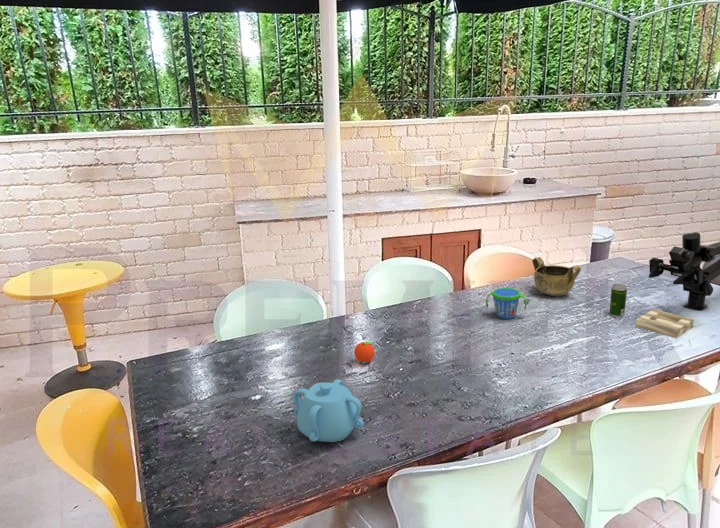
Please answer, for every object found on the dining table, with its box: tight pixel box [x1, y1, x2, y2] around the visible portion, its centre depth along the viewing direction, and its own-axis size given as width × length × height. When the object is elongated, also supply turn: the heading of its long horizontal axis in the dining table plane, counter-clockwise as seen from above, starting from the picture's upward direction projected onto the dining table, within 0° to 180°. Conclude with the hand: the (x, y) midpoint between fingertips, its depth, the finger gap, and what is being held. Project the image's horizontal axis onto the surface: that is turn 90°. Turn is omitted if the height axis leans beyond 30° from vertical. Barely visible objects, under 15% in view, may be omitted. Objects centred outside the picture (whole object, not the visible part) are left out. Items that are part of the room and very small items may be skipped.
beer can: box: [608, 283, 628, 318], centre depth 201 cm, size 5×5×12 cm
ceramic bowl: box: [532, 256, 582, 297], centre depth 226 cm, size 22×17×15 cm
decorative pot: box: [293, 379, 365, 443], centre depth 136 cm, size 16×16×14 cm
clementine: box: [353, 341, 376, 363], centre depth 174 cm, size 8×7×7 cm
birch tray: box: [635, 308, 695, 339], centre depth 190 cm, size 14×14×4 cm
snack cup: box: [485, 287, 528, 320], centre depth 205 cm, size 16×10×10 cm
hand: (661, 279), depth 190 cm, fingers open, 9 cm apart
